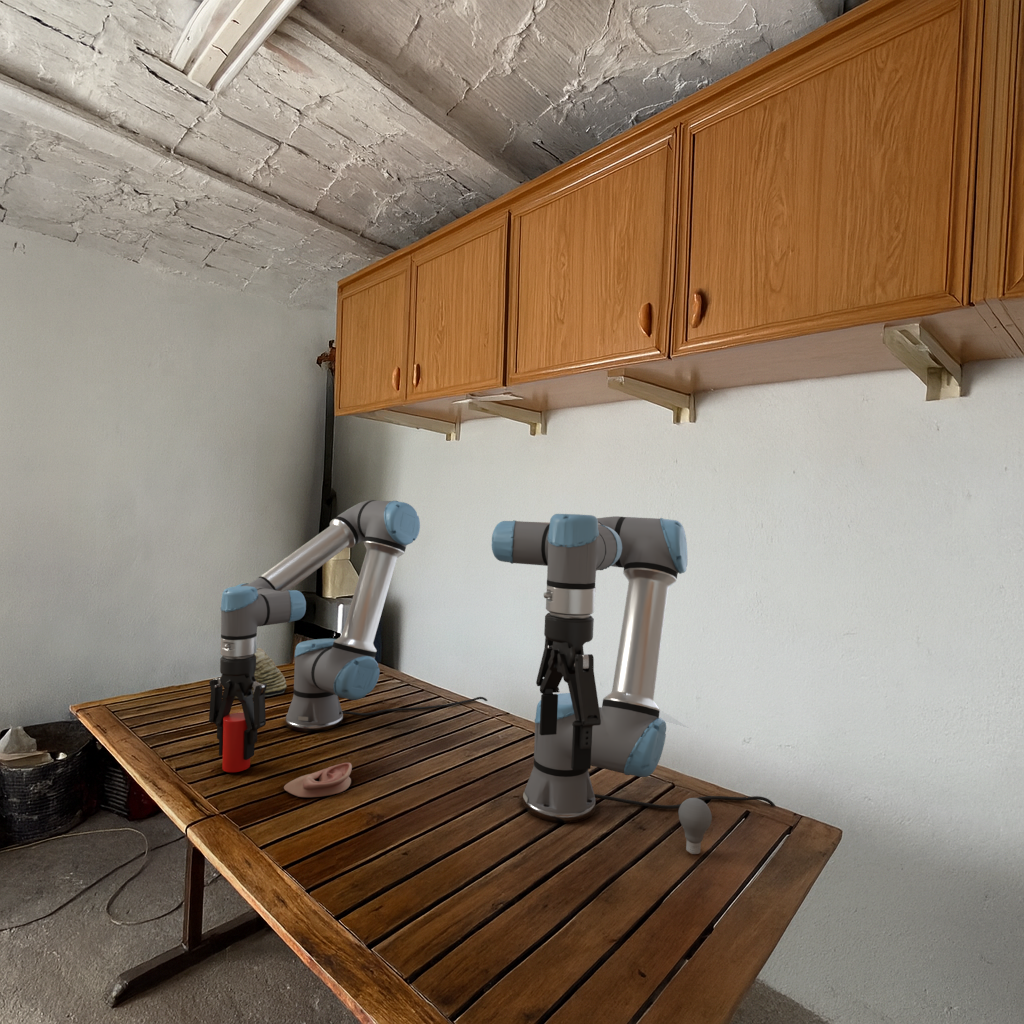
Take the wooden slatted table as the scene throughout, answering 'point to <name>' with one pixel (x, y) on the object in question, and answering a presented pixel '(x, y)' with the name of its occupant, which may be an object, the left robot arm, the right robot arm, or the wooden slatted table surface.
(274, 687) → the fossil
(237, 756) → the red cylinder
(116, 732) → the wooden slatted table surface
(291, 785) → the anatomical model
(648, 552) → the right robot arm
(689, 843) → the light bulb
